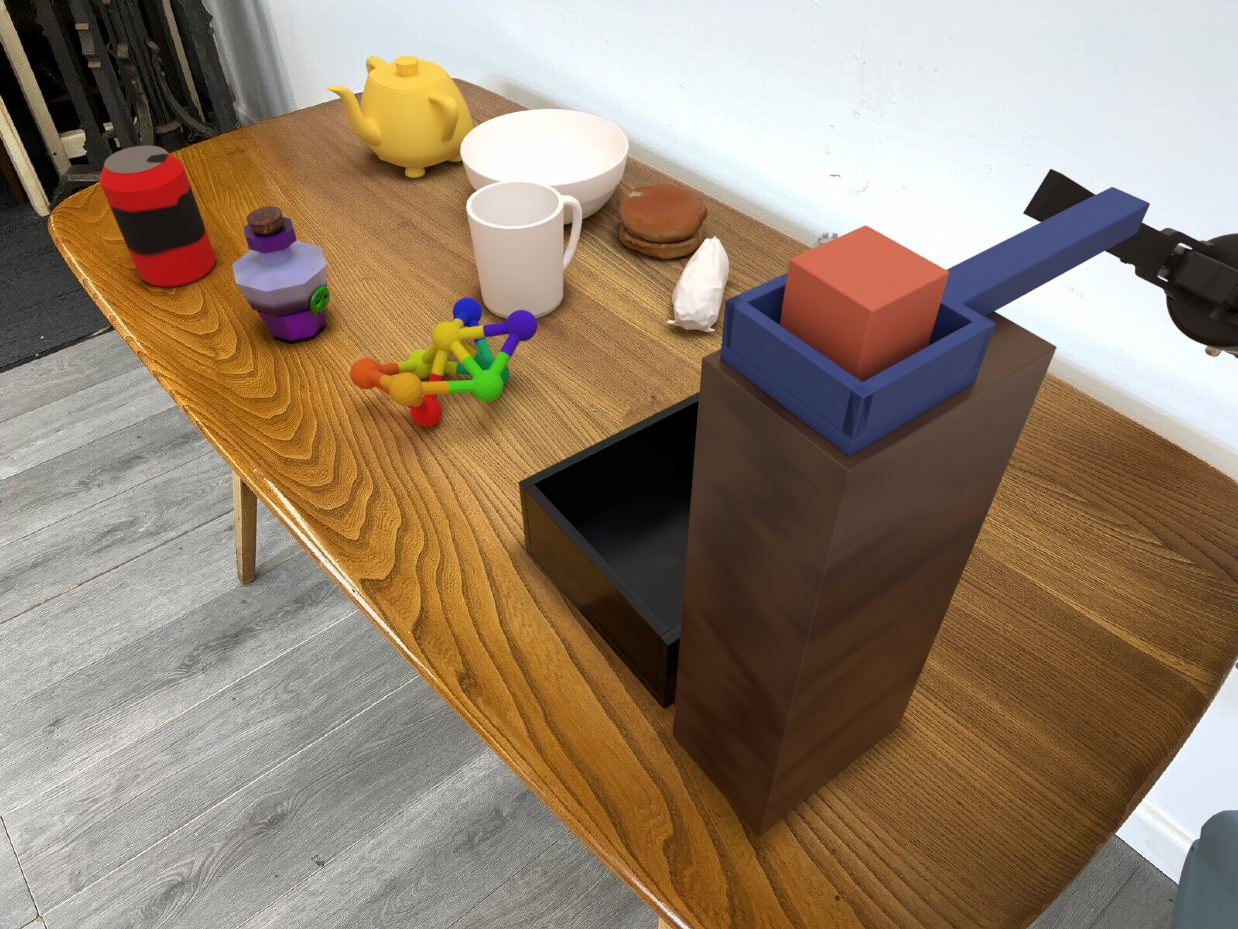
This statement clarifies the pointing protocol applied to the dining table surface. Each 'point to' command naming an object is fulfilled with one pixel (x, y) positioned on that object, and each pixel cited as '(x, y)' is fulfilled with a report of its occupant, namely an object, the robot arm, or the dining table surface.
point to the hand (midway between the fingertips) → (1153, 245)
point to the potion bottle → (283, 277)
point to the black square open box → (622, 538)
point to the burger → (662, 221)
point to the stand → (827, 571)
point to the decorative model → (449, 362)
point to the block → (863, 301)
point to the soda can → (157, 215)
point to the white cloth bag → (701, 288)
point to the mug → (521, 245)
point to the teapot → (409, 113)
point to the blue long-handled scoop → (957, 337)
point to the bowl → (549, 154)
